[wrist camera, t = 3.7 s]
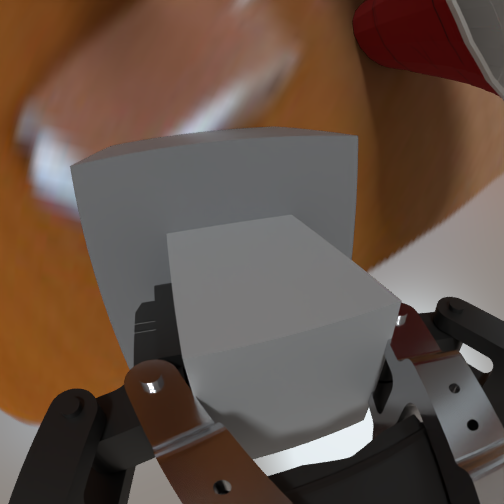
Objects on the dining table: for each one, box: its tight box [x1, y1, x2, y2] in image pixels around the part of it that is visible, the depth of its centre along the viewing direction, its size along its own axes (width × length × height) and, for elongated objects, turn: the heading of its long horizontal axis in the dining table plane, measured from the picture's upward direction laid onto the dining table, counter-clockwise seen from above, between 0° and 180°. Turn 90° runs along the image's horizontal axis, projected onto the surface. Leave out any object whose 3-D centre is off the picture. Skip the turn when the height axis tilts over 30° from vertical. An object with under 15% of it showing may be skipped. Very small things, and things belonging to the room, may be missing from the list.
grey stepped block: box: [70, 127, 401, 459], centre depth 13 cm, size 10×10×15 cm
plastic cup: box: [352, 0, 504, 100], centre depth 12 cm, size 11×11×12 cm
